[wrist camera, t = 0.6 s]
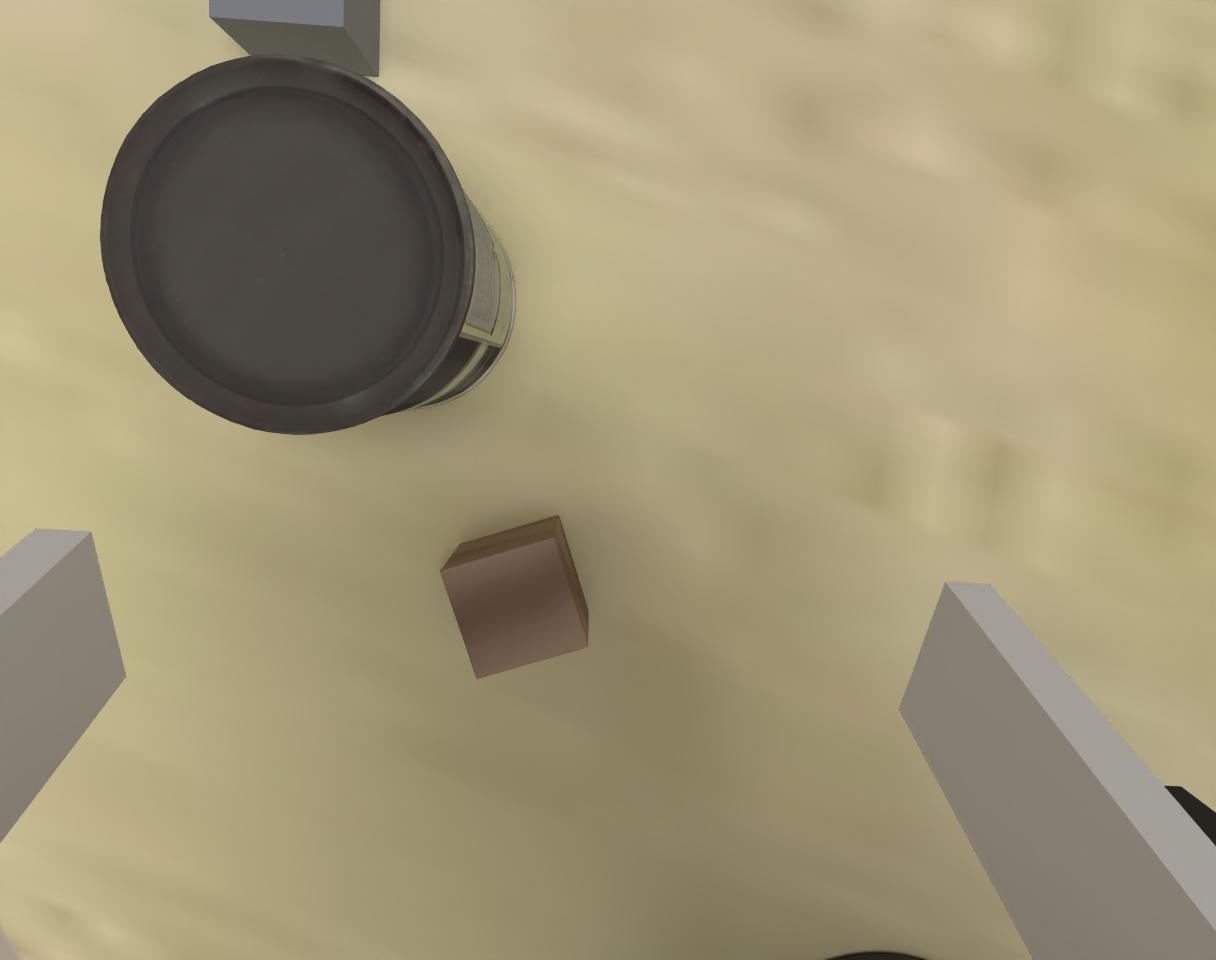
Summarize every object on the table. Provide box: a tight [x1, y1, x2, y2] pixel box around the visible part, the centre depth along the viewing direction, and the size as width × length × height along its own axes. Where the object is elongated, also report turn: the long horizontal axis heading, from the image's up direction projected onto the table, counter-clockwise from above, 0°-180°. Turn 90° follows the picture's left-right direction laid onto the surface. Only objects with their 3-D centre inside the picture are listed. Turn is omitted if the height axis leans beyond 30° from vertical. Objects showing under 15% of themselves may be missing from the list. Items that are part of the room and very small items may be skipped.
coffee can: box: [100, 54, 516, 435], centre depth 28 cm, size 10×10×14 cm
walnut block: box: [440, 515, 588, 679], centre depth 35 cm, size 5×5×5 cm
